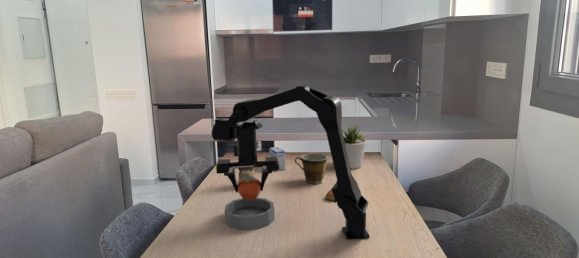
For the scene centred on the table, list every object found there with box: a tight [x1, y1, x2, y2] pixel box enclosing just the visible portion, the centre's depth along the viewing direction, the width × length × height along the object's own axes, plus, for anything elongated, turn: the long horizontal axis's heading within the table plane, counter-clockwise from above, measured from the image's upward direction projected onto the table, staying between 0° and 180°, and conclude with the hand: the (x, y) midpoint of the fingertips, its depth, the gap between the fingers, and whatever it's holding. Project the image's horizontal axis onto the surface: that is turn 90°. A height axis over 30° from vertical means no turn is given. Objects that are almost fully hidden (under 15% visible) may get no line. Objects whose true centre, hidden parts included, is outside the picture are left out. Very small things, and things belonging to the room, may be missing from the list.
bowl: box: [224, 197, 275, 231], centre depth 123 cm, size 15×15×4 cm
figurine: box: [237, 168, 257, 183], centre depth 150 cm, size 7×7×12 cm
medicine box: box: [268, 146, 286, 172], centre depth 171 cm, size 8×4×9 cm, turn 25°
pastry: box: [325, 188, 335, 201], centre depth 139 cm, size 9×7×4 cm
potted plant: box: [341, 123, 368, 170], centre depth 171 cm, size 13×14×20 cm
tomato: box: [237, 174, 262, 200], centre depth 121 cm, size 7×7×8 cm
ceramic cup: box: [294, 153, 328, 185], centre depth 155 cm, size 13×10×10 cm
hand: (249, 191), depth 121 cm, fingers closed on tomato, 7 cm apart
